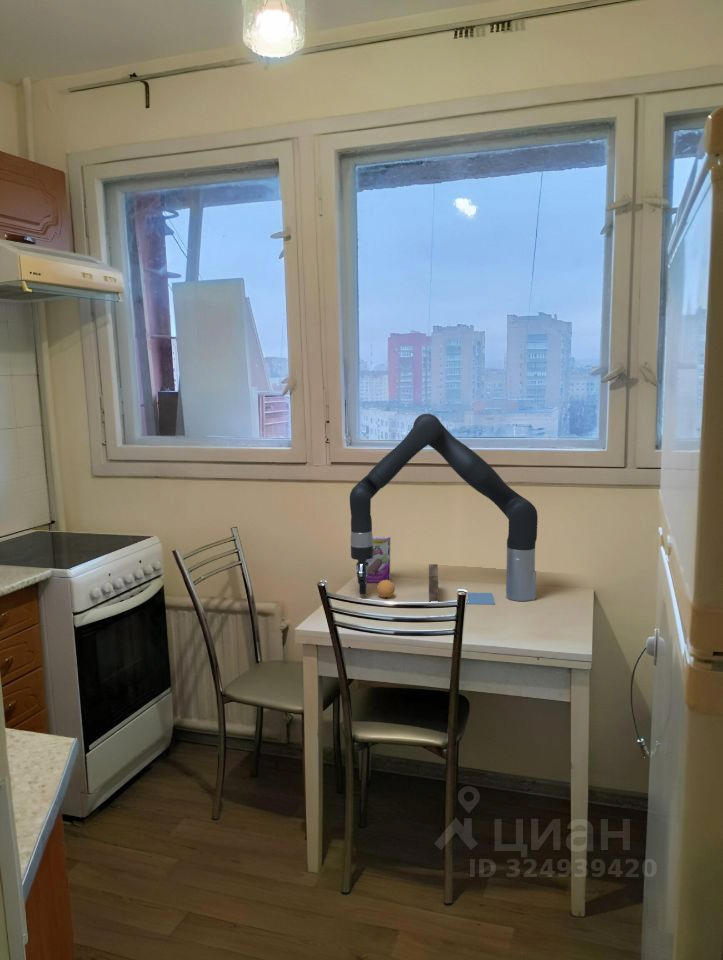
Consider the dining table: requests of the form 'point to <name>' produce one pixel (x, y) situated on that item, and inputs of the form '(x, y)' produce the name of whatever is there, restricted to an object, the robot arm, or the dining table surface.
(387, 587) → the ball
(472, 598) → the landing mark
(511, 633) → the dining table surface
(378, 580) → the candy bar box
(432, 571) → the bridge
